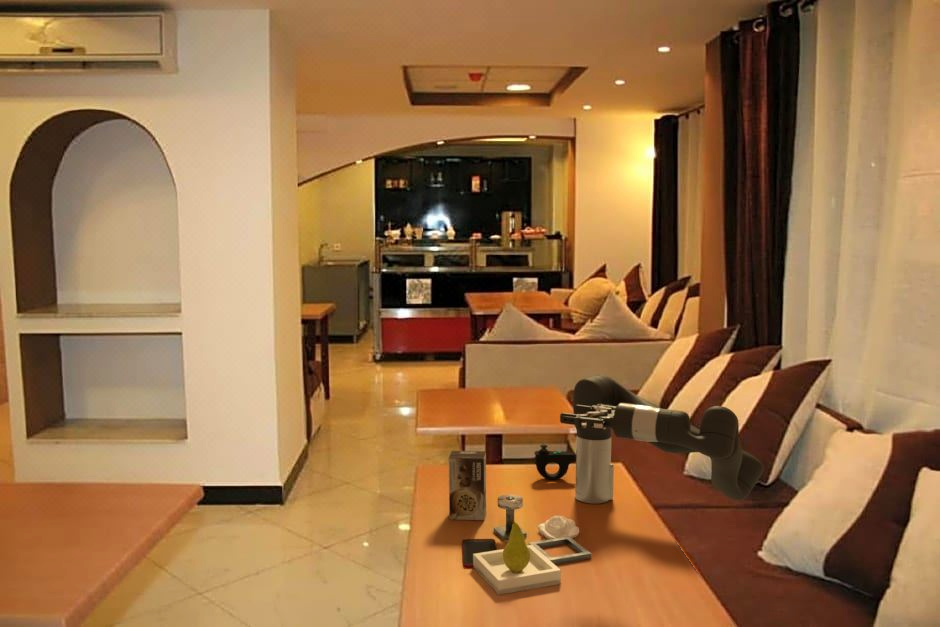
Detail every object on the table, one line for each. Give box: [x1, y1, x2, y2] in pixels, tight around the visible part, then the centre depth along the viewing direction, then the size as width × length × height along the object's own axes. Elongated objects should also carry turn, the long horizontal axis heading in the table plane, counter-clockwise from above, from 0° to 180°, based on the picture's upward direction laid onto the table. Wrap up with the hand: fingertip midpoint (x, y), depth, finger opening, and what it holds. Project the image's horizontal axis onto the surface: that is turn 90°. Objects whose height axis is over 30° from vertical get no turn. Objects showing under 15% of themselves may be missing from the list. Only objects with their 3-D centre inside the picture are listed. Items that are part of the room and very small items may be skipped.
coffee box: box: [448, 450, 487, 521], centre depth 210 cm, size 9×6×16 cm
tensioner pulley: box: [493, 494, 528, 541], centre depth 198 cm, size 6×6×9 cm
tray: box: [473, 544, 562, 596], centre depth 176 cm, size 14×14×3 cm
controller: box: [533, 444, 576, 481], centre depth 239 cm, size 4×12×10 cm, turn 89°
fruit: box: [503, 514, 530, 572], centre depth 175 cm, size 6×6×12 cm
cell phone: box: [461, 538, 498, 569], centre depth 187 cm, size 8×15×1 cm, turn 2°
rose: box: [537, 515, 580, 540], centre depth 199 cm, size 10×4×10 cm
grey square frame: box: [528, 537, 592, 566], centre depth 188 cm, size 10×10×1 cm
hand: (568, 413), depth 185 cm, fingers open, 8 cm apart
